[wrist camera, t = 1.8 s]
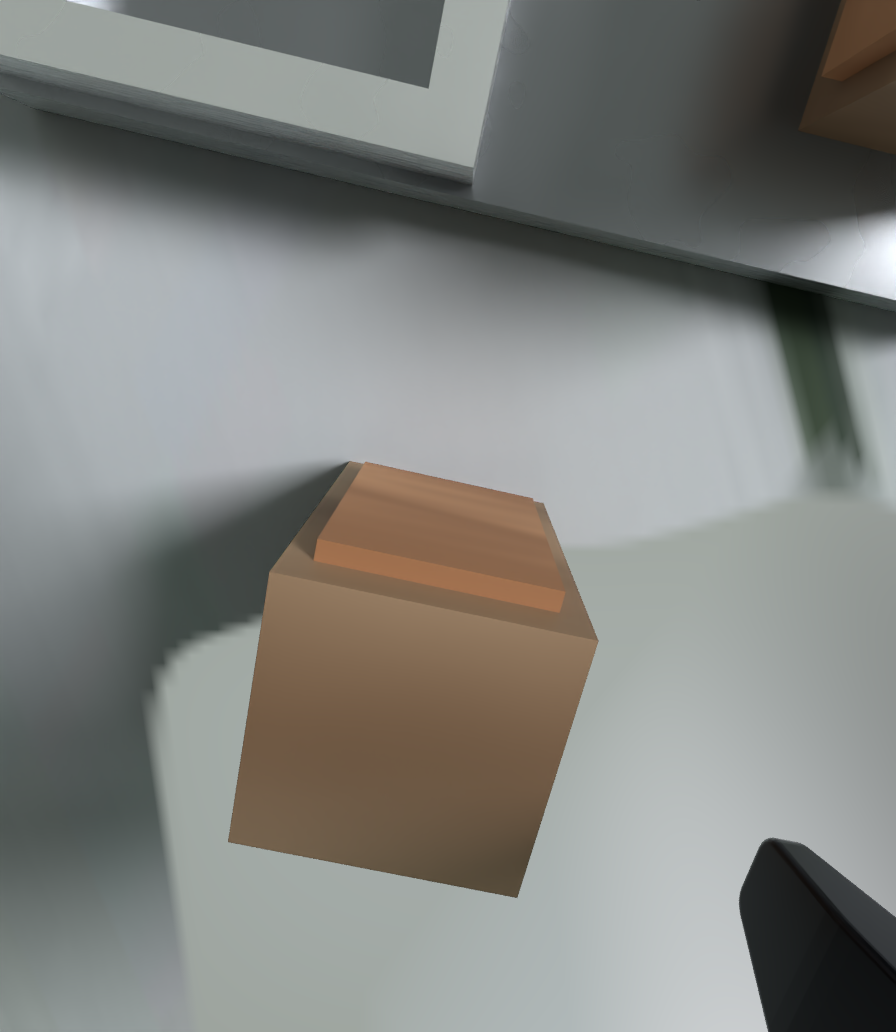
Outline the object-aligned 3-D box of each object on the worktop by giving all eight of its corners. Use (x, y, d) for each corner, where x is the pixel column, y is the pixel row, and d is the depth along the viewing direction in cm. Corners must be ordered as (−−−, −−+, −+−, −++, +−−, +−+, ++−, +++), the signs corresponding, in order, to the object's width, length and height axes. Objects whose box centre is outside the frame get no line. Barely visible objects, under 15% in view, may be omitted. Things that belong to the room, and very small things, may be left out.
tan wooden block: (496, 673, 15) (516, 897, 9) (317, 636, 15) (227, 842, 9) (547, 489, 14) (606, 618, 8) (352, 446, 14) (273, 548, 8)
